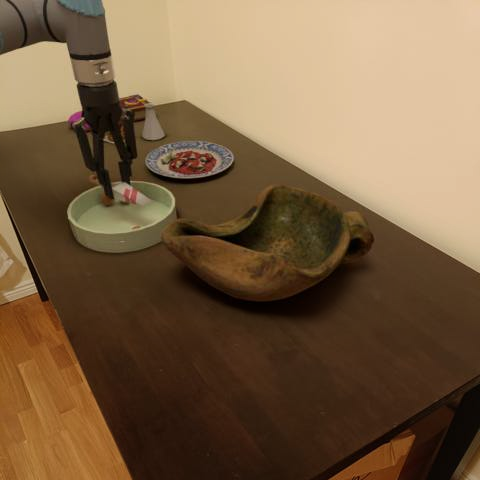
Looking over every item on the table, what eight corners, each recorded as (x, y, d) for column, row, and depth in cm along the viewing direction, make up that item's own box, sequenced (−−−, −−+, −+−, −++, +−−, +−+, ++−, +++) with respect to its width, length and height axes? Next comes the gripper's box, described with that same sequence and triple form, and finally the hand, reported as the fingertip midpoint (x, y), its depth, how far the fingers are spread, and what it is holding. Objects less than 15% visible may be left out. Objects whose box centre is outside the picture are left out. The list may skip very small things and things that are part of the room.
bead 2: (114, 201, 107) (121, 204, 110) (125, 203, 106) (132, 206, 109) (116, 188, 107) (123, 191, 110) (127, 190, 106) (134, 193, 109)
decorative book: (127, 124, 152) (124, 109, 148) (111, 111, 162) (108, 97, 158) (156, 118, 156) (154, 103, 153) (139, 106, 166) (137, 91, 163)
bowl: (215, 361, 71) (220, 291, 61) (153, 264, 89) (148, 197, 79) (388, 300, 87) (415, 236, 77) (305, 228, 105) (318, 169, 94)
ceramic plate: (248, 157, 131) (248, 147, 129) (205, 192, 115) (204, 182, 113) (178, 142, 140) (177, 133, 138) (128, 173, 123) (126, 163, 121)
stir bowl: (79, 262, 92) (73, 243, 88) (68, 209, 108) (62, 190, 105) (189, 239, 98) (187, 220, 95) (163, 192, 115) (160, 174, 111)
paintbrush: (139, 200, 90) (83, 175, 100) (142, 212, 92) (86, 186, 102) (153, 193, 93) (97, 169, 102) (155, 205, 94) (100, 180, 104)
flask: (154, 131, 147) (150, 99, 140) (169, 136, 144) (165, 104, 137) (138, 137, 143) (133, 105, 136) (152, 142, 140) (148, 110, 133)
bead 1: (111, 192, 109) (102, 201, 109) (105, 187, 106) (96, 196, 106) (119, 200, 109) (110, 209, 109) (114, 195, 106) (104, 205, 106)
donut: (65, 128, 149) (61, 114, 146) (89, 120, 155) (85, 106, 152) (83, 135, 144) (80, 121, 141) (107, 126, 150) (104, 112, 147)
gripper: (62, 94, 76) (92, 212, 92) (144, 77, 84) (158, 188, 100) (44, 85, 80) (76, 199, 96) (124, 69, 88) (141, 177, 104)
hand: (118, 193), depth 98 cm, fingers closed on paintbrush, 4 cm apart
